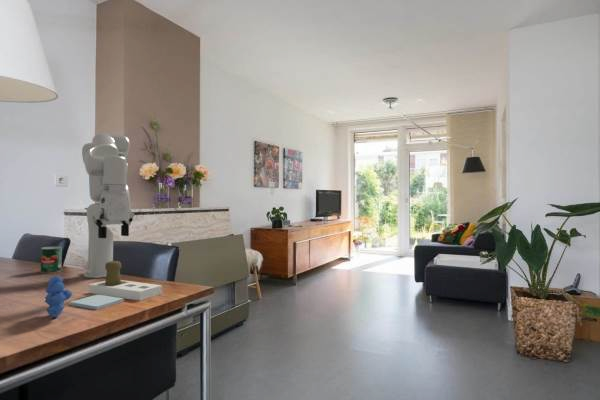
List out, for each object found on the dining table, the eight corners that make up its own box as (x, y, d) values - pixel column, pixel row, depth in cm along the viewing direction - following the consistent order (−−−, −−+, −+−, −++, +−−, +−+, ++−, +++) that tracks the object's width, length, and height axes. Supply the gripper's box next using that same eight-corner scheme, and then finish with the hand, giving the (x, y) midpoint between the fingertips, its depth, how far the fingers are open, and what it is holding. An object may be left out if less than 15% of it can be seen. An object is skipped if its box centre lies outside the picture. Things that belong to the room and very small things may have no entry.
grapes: (77, 319, 102) (78, 276, 102) (49, 324, 97) (49, 279, 97) (67, 309, 110) (68, 270, 110) (40, 314, 106) (40, 273, 106)
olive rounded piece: (114, 294, 129) (115, 263, 129) (99, 293, 130) (100, 262, 130) (125, 290, 135) (126, 260, 135) (111, 289, 136) (112, 259, 136)
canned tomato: (41, 274, 160) (41, 249, 160) (39, 271, 166) (39, 247, 166) (62, 272, 165) (63, 247, 165) (60, 269, 171) (60, 245, 171)
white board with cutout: (88, 292, 130) (88, 284, 130) (112, 286, 139) (112, 278, 139) (140, 300, 121) (140, 291, 121) (161, 293, 131) (162, 285, 131)
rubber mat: (69, 305, 115) (69, 301, 115) (97, 297, 124) (97, 294, 124) (96, 309, 111) (97, 306, 111) (123, 301, 120) (123, 298, 120)
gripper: (101, 188, 123) (100, 239, 123) (141, 190, 139) (140, 235, 139) (85, 189, 126) (84, 238, 126) (126, 190, 142) (125, 234, 142)
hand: (114, 236), depth 132 cm, fingers open, 9 cm apart
